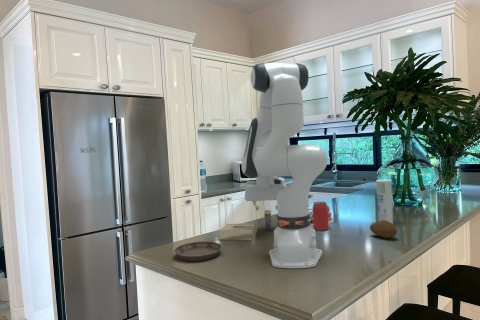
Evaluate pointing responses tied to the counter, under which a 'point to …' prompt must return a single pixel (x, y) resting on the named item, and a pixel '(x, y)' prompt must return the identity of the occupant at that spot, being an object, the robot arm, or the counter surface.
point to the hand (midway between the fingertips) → (267, 209)
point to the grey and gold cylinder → (267, 220)
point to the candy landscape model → (312, 215)
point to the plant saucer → (198, 251)
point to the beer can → (320, 216)
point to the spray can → (384, 200)
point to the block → (238, 231)
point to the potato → (384, 229)
